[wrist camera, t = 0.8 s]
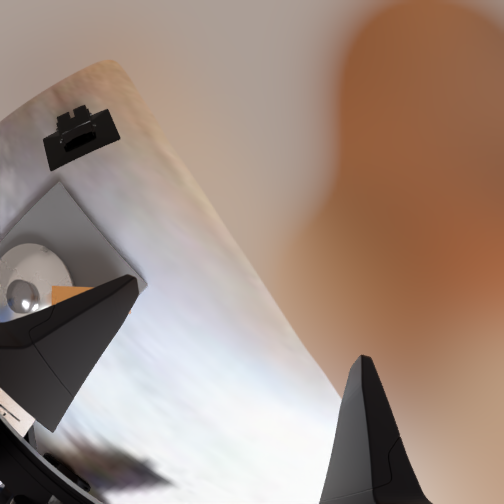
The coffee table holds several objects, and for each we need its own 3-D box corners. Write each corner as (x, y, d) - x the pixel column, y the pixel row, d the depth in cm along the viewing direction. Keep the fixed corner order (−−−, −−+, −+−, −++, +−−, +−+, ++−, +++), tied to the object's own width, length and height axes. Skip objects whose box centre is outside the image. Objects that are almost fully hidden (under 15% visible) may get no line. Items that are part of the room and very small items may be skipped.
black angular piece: (116, 104, 30) (116, 80, 26) (134, 143, 30) (134, 120, 26) (32, 142, 25) (22, 121, 21) (42, 187, 25) (30, 169, 21)
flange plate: (58, 395, 20) (42, 409, 15) (-20, 293, 18) (-43, 289, 14) (141, 302, 25) (139, 301, 20) (57, 204, 23) (44, 185, 19)
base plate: (36, 410, 19) (16, 428, 14) (-39, 306, 18) (-67, 303, 12) (147, 285, 27) (146, 279, 21) (63, 186, 25) (48, 161, 20)
